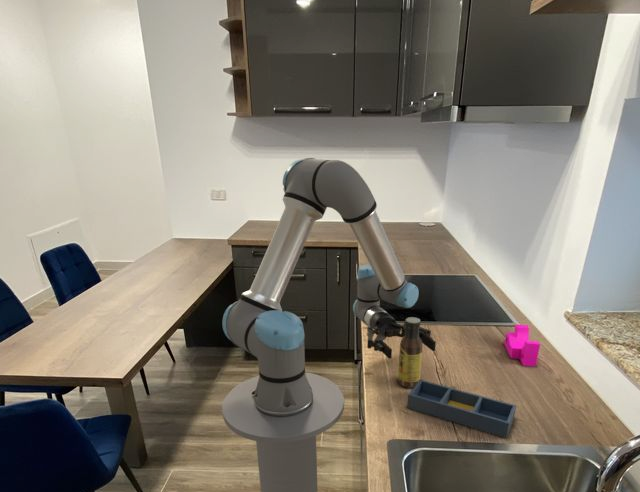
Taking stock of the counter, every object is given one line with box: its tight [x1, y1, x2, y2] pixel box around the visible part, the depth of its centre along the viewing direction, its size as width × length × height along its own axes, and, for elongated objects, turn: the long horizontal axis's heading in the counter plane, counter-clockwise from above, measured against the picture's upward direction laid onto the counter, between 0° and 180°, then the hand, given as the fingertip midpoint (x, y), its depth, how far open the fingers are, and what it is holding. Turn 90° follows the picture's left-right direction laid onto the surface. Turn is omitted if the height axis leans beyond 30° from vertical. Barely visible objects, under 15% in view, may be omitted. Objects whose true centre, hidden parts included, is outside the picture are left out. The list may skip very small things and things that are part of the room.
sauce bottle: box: [397, 316, 424, 389], centre depth 123 cm, size 6×6×20 cm
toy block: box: [503, 324, 541, 367], centre depth 142 cm, size 15×6×8 cm, turn 173°
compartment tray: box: [406, 379, 517, 439], centre depth 112 cm, size 25×9×4 cm, turn 60°
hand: (412, 350), depth 122 cm, fingers open, 13 cm apart
